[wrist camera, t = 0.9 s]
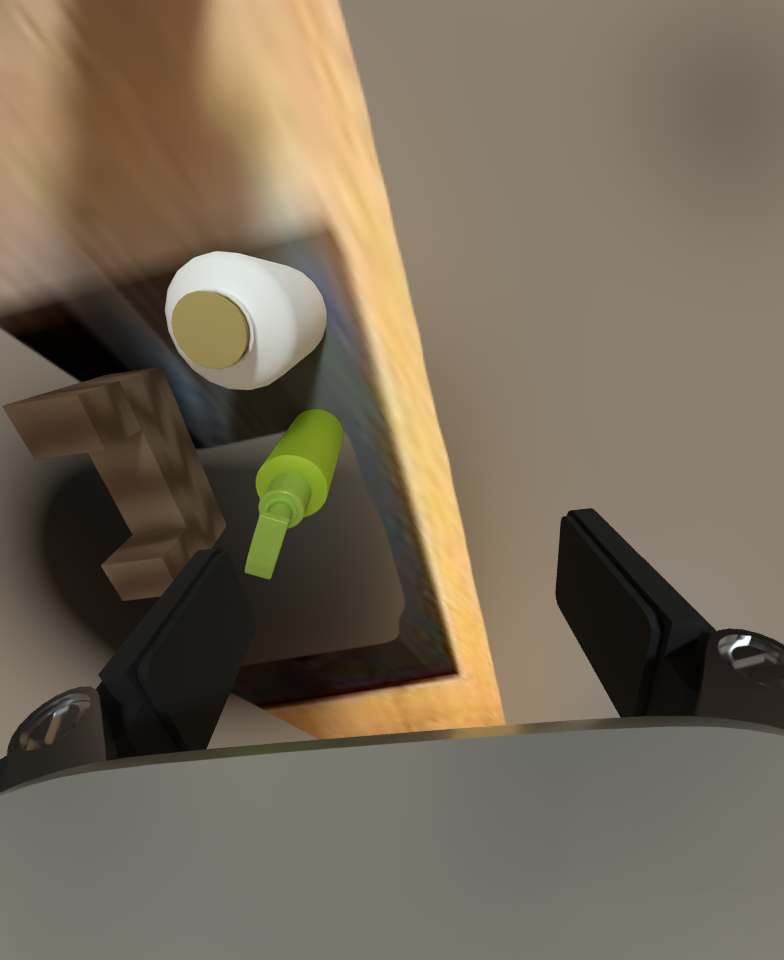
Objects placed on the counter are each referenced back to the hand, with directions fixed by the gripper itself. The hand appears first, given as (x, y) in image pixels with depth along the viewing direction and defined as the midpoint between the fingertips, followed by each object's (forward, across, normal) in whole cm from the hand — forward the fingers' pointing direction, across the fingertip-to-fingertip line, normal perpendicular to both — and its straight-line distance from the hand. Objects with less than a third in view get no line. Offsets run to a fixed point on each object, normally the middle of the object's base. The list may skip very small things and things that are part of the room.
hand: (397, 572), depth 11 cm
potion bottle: (+32, +10, -8) cm, 34 cm away
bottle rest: (+32, +26, +6) cm, 42 cm away
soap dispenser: (+32, +10, +6) cm, 34 cm away
